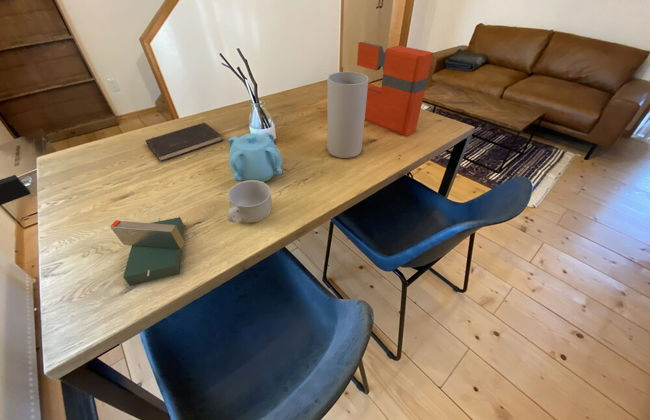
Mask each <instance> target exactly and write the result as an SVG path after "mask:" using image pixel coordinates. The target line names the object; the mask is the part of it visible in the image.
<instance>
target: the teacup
mask: <svg viewBox="0 0 650 420" xmlns="http://www.w3.org/2000/svg"><path fill="white" fill-rule="evenodd" d="M227 199H228V200H229V204H230V208H229V209H228V211H227V214H226V218H227V221H229V222H230V223H232V224H237V223H257V222H260V221H262V220H264V219H265V218H267V217H268V216H269V215H270V213H271V211H272V206H273V205H272V189H271V187H270V186H269V185H268V183H266V182H261V181H257V180H247V181H244V180H242V181H239V182H237V183H235V184H234V185H232V186H231V187H230V188H229V190H228V192H227ZM234 217H235V218H234Z"/></svg>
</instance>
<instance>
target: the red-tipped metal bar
mask: <svg viewBox="0 0 650 420" xmlns="http://www.w3.org/2000/svg"><path fill="white" fill-rule="evenodd" d="M109 228H110V229H111V230H112V232H113V233H114V234H115V235H116V237H117V239H118V240H119V241H120V242H121V243H122V245H123V246H131V247H132V246H144V247H156V248H169V249H181V248H182V249H183V247H184V245H185V244H186V242H185V241H184V237H183V238H182V237H181V235H180V233H179V231H178V229H177V227H176V225H167V224H154V223H152V222H141V221H139V222H138V221H125V220H123V221H122V220H114V222H112V224H110V226H109Z"/></svg>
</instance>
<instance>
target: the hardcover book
mask: <svg viewBox="0 0 650 420" xmlns="http://www.w3.org/2000/svg"><path fill="white" fill-rule="evenodd" d="M144 141H145V143H146V145H147V147H148V148H149V150H150V151H151V152H152V153H153V154H154V156H155V157H156V158H157V159H158V161H159V162H160V163H163V162H165V161H169V160H171V159H174V158H178V157H180V156H183V155H185V154H189V153H191V152H194V151H197V150H200V149H203V148H206V147H209V146H212V145H215V144H218V143H221V142H223V139H222V135H221V134H220V133H218V132H217V131H216V130H215V129H214V128H212V127H211V126H210V125H209V124H207V123H206V122H201V123H198V124H195V125H191V126H187V127H184V128H181V129H177V130H174V131H171V132H167V133H164V134H161V135H157V136H155V137H151V138H148V139H145V140H144Z"/></svg>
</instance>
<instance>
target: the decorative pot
mask: <svg viewBox="0 0 650 420" xmlns="http://www.w3.org/2000/svg"><path fill="white" fill-rule="evenodd" d="M228 145H229V148H230V150H229V154H228V166H229V170H230V172H231V173H233V177H232V178H233V180H234V181H236V182H241V181H247V180H257V181H261V182H264V183H266V182H268V181H270V180H271V179H272V178H274V177H276V176H280V175H282V173H283V169H282V166H283V158H282V156H281V152H280V151H279V149H278V147H277V146H276V144H275V137H274V135H273V134H272V133H271V132H264V133H262V134H260V133H254V132H253V133H252V132H251V133H245V134H243V135H241V136H239V137H238V136H236V135H235V136H234V135H233V136H231V137H230V138H229V139H228Z"/></svg>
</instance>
